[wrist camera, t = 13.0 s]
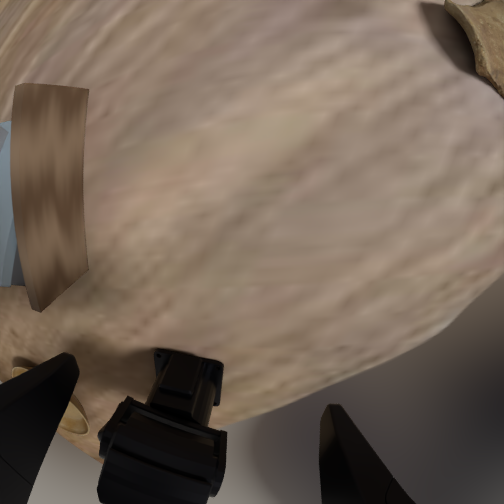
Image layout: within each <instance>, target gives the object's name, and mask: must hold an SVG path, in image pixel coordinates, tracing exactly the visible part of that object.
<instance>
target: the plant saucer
mask: <svg viewBox="0 0 504 504" xmlns="http://www.w3.org/2000/svg"><path fill="white" fill-rule="evenodd" d="M32 368H33V367H25V366H21V367H14V368H13V369H12V378H14V377H16V376H18V375H20V374H22V373H24V372H26V371H28V370H30V369H32ZM58 427H59V428H61V429H63V430H65V431H67V432H69V433H72V434H75V435H80V436H83V435H87V434H88V433H89V423H88V420H87V417H86V414H85V412H84V409H83V407H82V405H81V404H80V402H79V401H78V399H77V398H76V397H75V396H74V395H73V393H72V396H71V399H70V402H69V404H68V407H67V409H66V411H65V413H64V415H63V418H62V420H61V422H60V424H59V426H58Z"/></svg>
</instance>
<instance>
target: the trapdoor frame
mask: <svg viewBox="0 0 504 504" xmlns="http://www.w3.org/2000/svg"><path fill="white" fill-rule="evenodd" d="M88 94H89V89H84V88H76V87H68V86H58V85H47V84H33V83H23V84H20V85H17V86H15V91H14V99H13V108H12V120H11V138H10V177H11V195H12V207H13V217H14V225H15V233H16V239H17V246H18V252H19V257H20V262H21V267H22V272H23V276H24V281H25V285H26V289H27V293H28V297H29V301H30V304H31V308H32V309H33V310H35V311H38V312H40V313H41V312H42V311H43V310H44V309H45V308H46V307H47V306H49V305H50V304H51V303H52V302H53V301H54V300H55V299H56V298H57V297H58V296H59V295H61V294H62V293H63V292H64V291H65V290H66V289H67V288H68V287H70V286H71V285H72V284H73V283H74V282H75V281H76V280H78V279H79V278H80V277H81V276H82V275H83V274H84V273H86V272H87V271H88V270H89V269H88V260H87V251H86V239H85V225H84V204H83V157H84V136H85V123H86V112H87V102H88Z"/></svg>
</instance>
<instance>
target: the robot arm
mask: <svg viewBox="0 0 504 504" xmlns="http://www.w3.org/2000/svg"><path fill="white" fill-rule="evenodd" d="M154 361H155V369H156V381H155V383H154V385H153V387H152V389H151V392H150V394H149V396H148V398H147V401H146V403H145V404H143V403H141V402H139V401H136V400H134V398H132V397H130V396H127V397H126V399H125V400H124V402H123V401H122V402H121V403H119V405H118V407H117V409H116V411H115V413H114V414H113V416H112V417H111V419H110V420H109V421H108V422H107V423H106V424H105V425H104V426H103V427H102V428H101V430H100V431H99V432H98V439H99V441H100V450H99V456H100V458H102V459H104V464H103V467H102V470H101V474H100V477H99V481H98V487H97V493H98V497H99V501H100V502H101V503H102V504H206V503H207V500H208V498H209V497H215V496H216V495H217V493H218V491H219V489H220V487H221V484H222V481H223V478H224V474H225V468H226V449H227V432H226V431H222V430H220V431H219V430H216V429H213V428H209V427H208V424H209V419H210V415H211V411H212V407H213V406H219V404H220V398H221V388H222V379H223V370H224V365H223V363H221V362H219V361H213V360H208V359H203V358H198V357H193V356H188V355H184V354H179V353H175V352H170V351H166V350H162V349H156V350H155V352H154ZM217 366H218V367H217ZM79 373H80V371H79V368H78V365H77V362H76V359H75V357H74V356H73V355H72V354H69V353H66V352H64V353H61V354H59V355H57V356H55V357H53V358H51V359H50V360H48V361H46V362H44V363H42V364H40V365H38V366H36V367H34V368H32V369H30V370H28V371H26V372H24V373H22V374H20V375H18V376H16V377H14V378H12V379H10V380H8V381H6V382H4V383H2V384H0V504H27V502H28V499H29V496H30V493H31V491H32V488H33V485H34V482H35V480H36V477H37V475H38V472H39V470H40V467H41V465H42V462H43V460H44V457H45V455H46V453H47V450H48V448H49V446H50V443H51V441H52V439H53V437H54V435H55V432H56V430H57V428H58V426H59V424H60V422H61V420H62V418H63V415H64V413H65V411H66V409H67V407H68V404H69V402H70V399H71V396H72V393H73V391H74V388H75V385H76V383H77V380H78V378H79ZM319 445H320V446H319V470H320V484H321V499H322V504H416V503H415V502H414V501H413V500H412V499H411V498H410V497H409V496H408V494H407V493H406V492H405V491H404V489H403V488H402V487H401V486H400V484H399V483H398V482H397V480H396V479H395V478H393V475H392V474H391V473H390V471H389V470H388V469H387V467H386V466H385V464H384V463H383V462H382V460H381V459H380V458H379V456H378V455H377V454H376V452H375V451H374V450H373V448H372V447H371V446H370V444H369V443H368V441H367V440H366V439H365V437H364V436H363V435H362V433H361V432H360V430H359V429H358V428H357V426H356V425H355V424H354V422H353V421H352V420H351V418H350V417H349V415H348V414H347V413H346V411H345V410H344V408H343V407H342V406H341V405H340V404H328V405H327V407H326V409H325V411H324V413H323V415H322V417H321V421H320V444H319Z"/></svg>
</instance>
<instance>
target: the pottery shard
mask: <svg viewBox="0 0 504 504" xmlns="http://www.w3.org/2000/svg"><path fill="white" fill-rule="evenodd" d="M444 6H445V10H446V11H447V12H448V13H450V14H451V15H452V16H453V17H454V18H455V19H456V20H457V21H458V23H459V24H460V25H461V26H462V28H463V29H464V30H465V32H466V34H467V36H468V38H469V41H470V43H471V46H472V49H473V52H474V55H475V64H476V72H477V73H478V74H479V75H480V76H484V77H486V78H487V79H488V80H489V81H490V82H491V83H492V84H493V86H494V87H495V88H496V89H497V90H498V92H499V94H501V95H502V96H503V98H504V1H503V0H483V2H481V4H480V5H476V6H473V7H470V6H468V5H465V6H461V5H457V4H455V3H453V2H452V1H451V0H445V3H444Z"/></svg>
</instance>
